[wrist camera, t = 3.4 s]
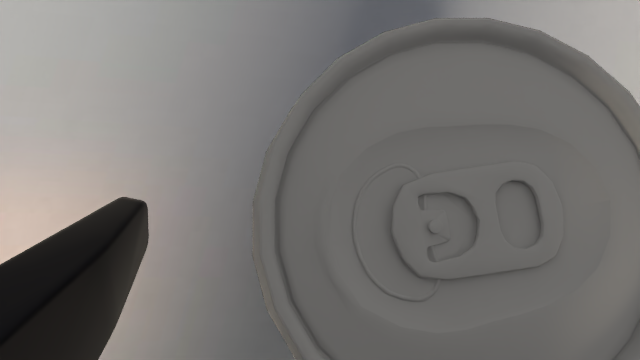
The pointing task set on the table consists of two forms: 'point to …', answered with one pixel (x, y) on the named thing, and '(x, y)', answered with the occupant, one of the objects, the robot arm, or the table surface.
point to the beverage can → (455, 202)
